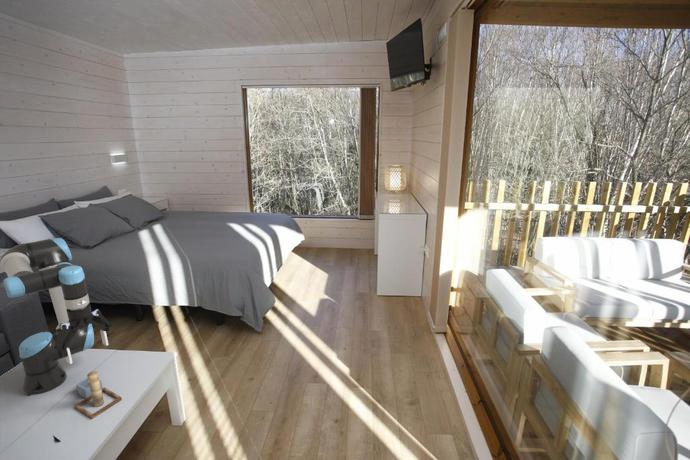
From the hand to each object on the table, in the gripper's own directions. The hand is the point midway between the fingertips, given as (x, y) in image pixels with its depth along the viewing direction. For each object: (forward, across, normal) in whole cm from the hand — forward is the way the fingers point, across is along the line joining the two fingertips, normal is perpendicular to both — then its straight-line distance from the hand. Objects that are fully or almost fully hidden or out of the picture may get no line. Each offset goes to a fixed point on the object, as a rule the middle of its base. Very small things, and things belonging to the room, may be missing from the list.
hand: (88, 353), depth 150 cm
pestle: (+24, 0, -1) cm, 24 cm away
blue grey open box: (+25, +2, +10) cm, 27 cm away
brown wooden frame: (+25, 0, -1) cm, 25 cm away
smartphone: (+25, -14, -1) cm, 29 cm away
